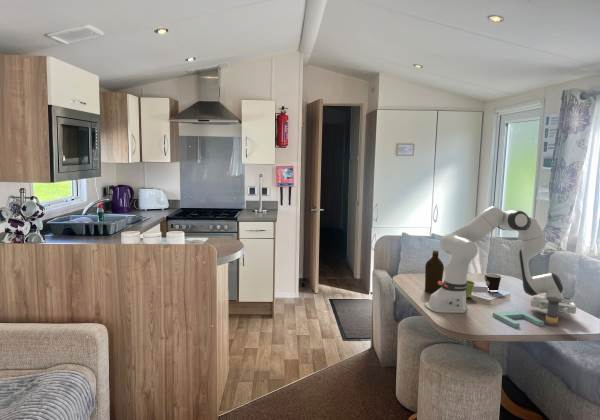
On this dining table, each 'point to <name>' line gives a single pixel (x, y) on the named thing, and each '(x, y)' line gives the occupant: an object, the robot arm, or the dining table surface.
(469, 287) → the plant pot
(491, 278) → the coffee mug
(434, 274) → the olive oil
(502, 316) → the notched board
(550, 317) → the door knob
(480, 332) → the dining table surface
